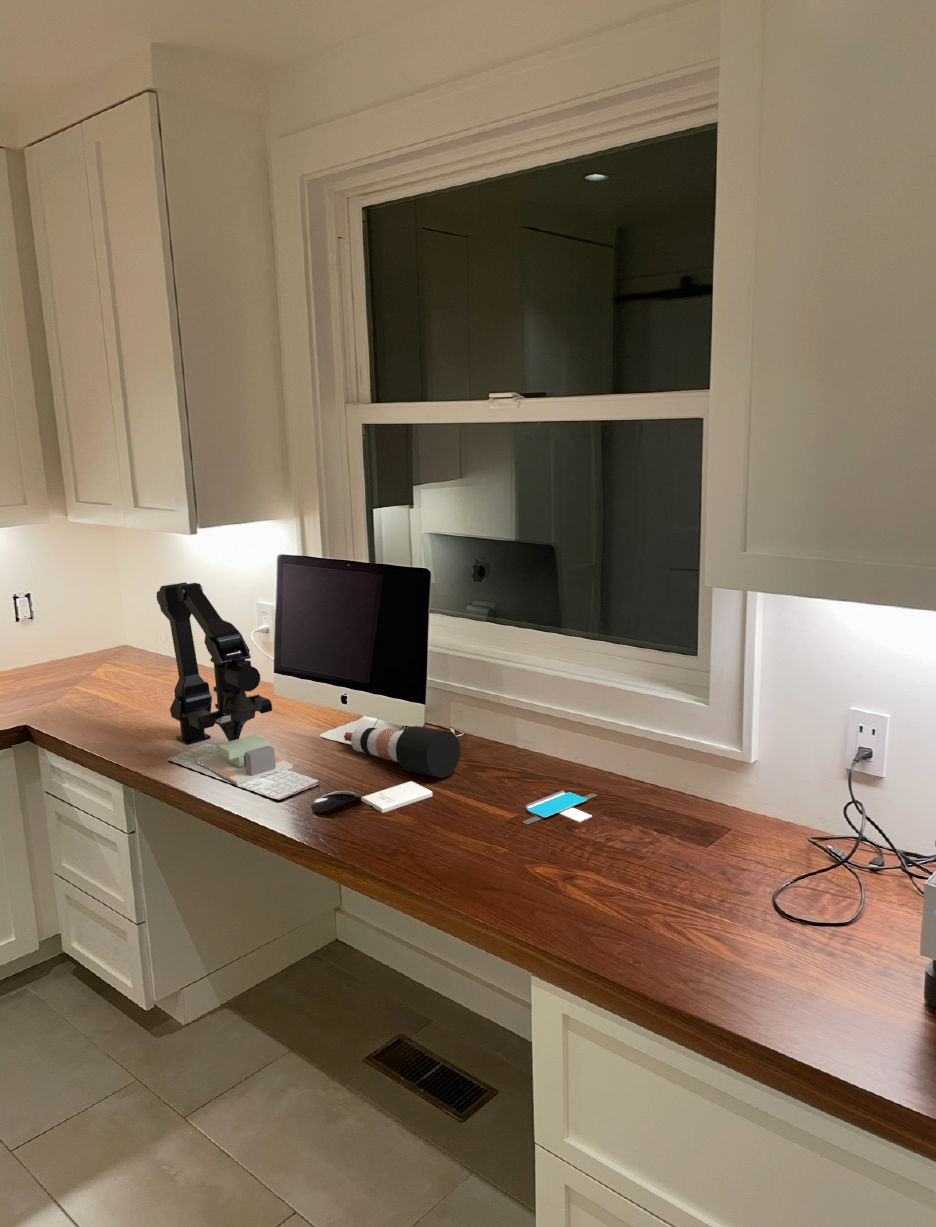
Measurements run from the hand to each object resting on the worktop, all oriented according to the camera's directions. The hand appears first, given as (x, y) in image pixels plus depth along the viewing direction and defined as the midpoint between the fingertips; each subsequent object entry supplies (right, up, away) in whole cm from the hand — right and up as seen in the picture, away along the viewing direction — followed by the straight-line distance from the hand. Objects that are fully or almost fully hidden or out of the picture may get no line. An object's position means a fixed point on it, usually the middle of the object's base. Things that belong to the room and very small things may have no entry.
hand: (234, 747), depth 217 cm
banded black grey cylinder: (+38, -3, -3) cm, 38 cm away
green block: (+3, -3, -3) cm, 5 cm away
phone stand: (+74, -9, -32) cm, 81 cm away
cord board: (+3, -4, -2) cm, 5 cm away
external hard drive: (+40, -8, -24) cm, 47 cm away
